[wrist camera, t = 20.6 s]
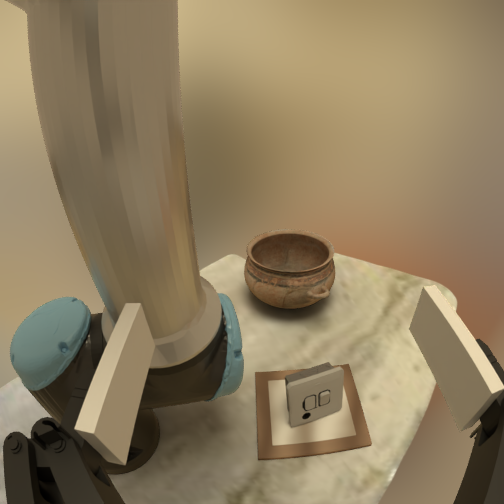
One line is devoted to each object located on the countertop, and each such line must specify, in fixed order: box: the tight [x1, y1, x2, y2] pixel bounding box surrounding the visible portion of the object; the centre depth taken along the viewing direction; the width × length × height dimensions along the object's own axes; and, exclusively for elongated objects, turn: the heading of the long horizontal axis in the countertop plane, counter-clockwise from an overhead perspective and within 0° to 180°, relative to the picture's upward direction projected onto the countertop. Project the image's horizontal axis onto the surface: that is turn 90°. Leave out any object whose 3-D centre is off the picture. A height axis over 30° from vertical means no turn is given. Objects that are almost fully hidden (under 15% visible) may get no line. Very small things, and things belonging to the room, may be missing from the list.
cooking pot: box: [244, 229, 335, 309], centre depth 63 cm, size 25×19×12 cm
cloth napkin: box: [255, 364, 372, 460], centre depth 41 cm, size 16×16×1 cm
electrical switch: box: [285, 362, 344, 427], centre depth 39 cm, size 8×5×8 cm, turn 106°
